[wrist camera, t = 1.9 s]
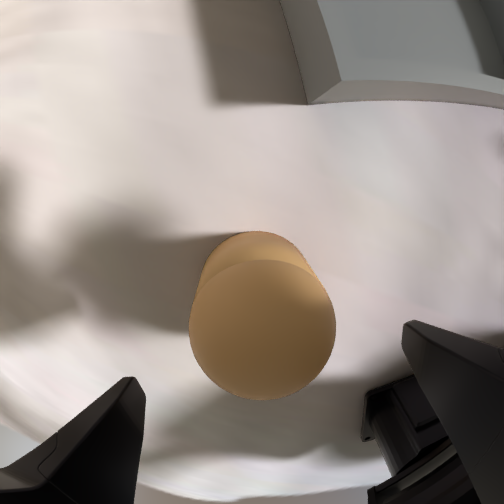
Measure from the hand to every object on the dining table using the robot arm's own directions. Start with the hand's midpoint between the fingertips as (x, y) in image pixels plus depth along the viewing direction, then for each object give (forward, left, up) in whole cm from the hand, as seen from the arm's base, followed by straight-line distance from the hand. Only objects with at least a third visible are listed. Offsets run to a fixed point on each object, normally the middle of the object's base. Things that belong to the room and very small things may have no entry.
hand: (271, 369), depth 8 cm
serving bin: (+16, -12, -6) cm, 21 cm away
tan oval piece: (0, 0, -6) cm, 6 cm away
